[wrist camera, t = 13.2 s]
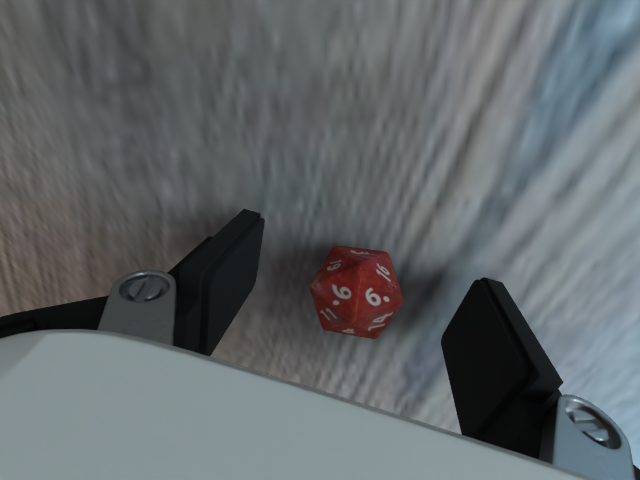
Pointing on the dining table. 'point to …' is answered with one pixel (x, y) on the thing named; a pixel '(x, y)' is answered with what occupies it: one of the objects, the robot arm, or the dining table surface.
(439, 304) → the dining table surface
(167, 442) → the robot arm
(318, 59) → the dining table surface
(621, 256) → the dining table surface
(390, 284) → the die
